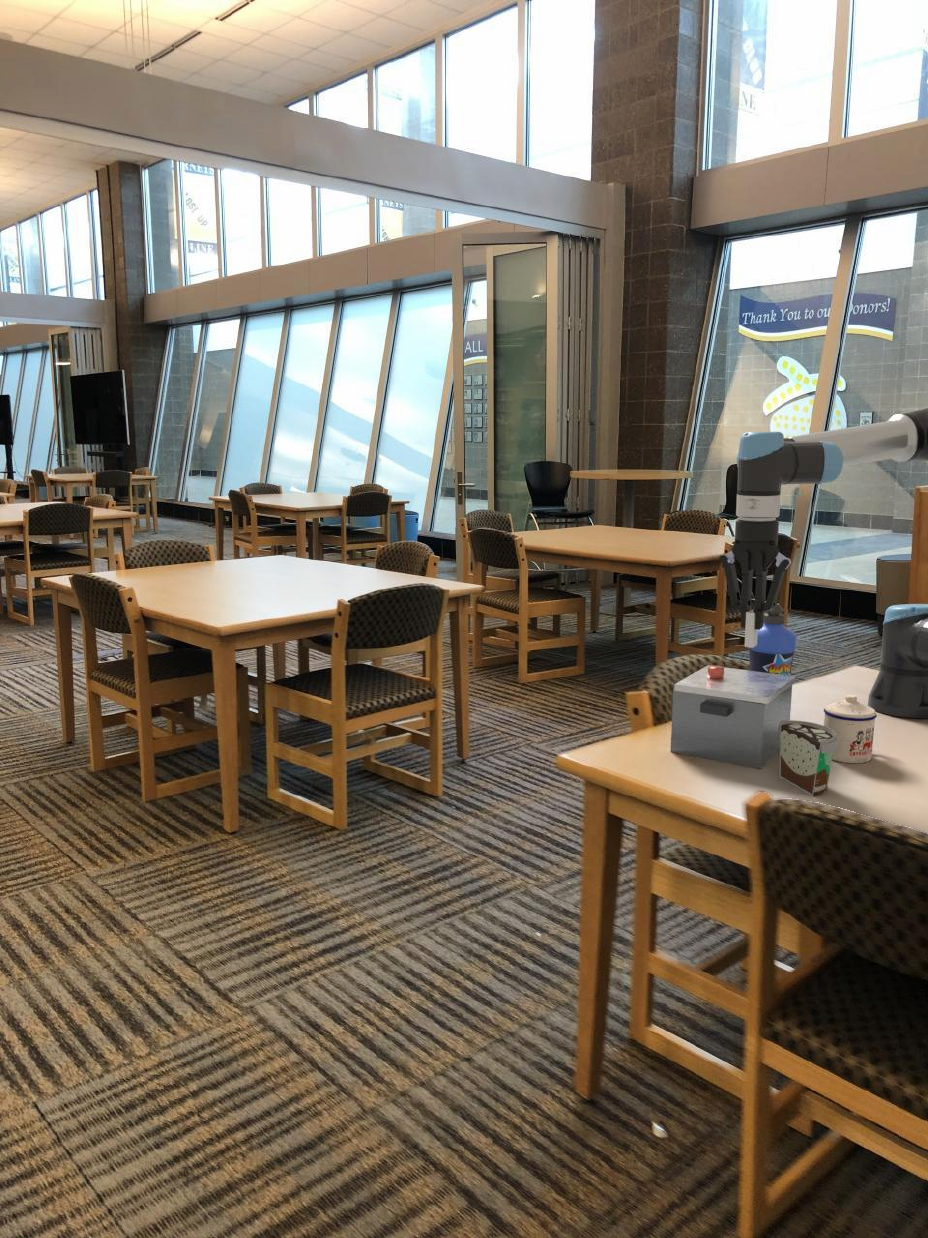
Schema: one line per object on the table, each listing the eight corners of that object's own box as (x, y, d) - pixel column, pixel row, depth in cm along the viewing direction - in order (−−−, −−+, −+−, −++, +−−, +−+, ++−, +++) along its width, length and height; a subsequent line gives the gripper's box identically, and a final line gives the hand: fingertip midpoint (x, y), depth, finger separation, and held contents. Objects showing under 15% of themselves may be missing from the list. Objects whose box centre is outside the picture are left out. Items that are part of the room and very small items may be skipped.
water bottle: (799, 727, 197) (808, 607, 192) (758, 731, 194) (766, 609, 189) (774, 714, 205) (782, 599, 201) (734, 717, 203) (741, 600, 198)
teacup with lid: (855, 768, 173) (861, 705, 171) (810, 754, 180) (815, 694, 178) (890, 754, 181) (896, 694, 178) (845, 742, 188) (850, 684, 185)
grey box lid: (795, 682, 184) (795, 666, 183) (767, 704, 170) (768, 686, 169) (707, 671, 193) (708, 655, 193) (674, 690, 179) (674, 673, 179)
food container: (850, 795, 160) (855, 738, 158) (818, 799, 159) (823, 741, 157) (804, 770, 172) (808, 716, 170) (774, 774, 170) (778, 719, 168)
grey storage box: (790, 741, 188) (794, 681, 186) (757, 772, 171) (761, 707, 169) (706, 726, 197) (709, 669, 195) (666, 754, 180) (669, 692, 178)
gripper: (715, 518, 175) (709, 645, 179) (788, 522, 168) (780, 654, 172) (728, 515, 181) (723, 638, 186) (799, 518, 174) (792, 646, 178)
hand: (750, 645), depth 179 cm, fingers closed
